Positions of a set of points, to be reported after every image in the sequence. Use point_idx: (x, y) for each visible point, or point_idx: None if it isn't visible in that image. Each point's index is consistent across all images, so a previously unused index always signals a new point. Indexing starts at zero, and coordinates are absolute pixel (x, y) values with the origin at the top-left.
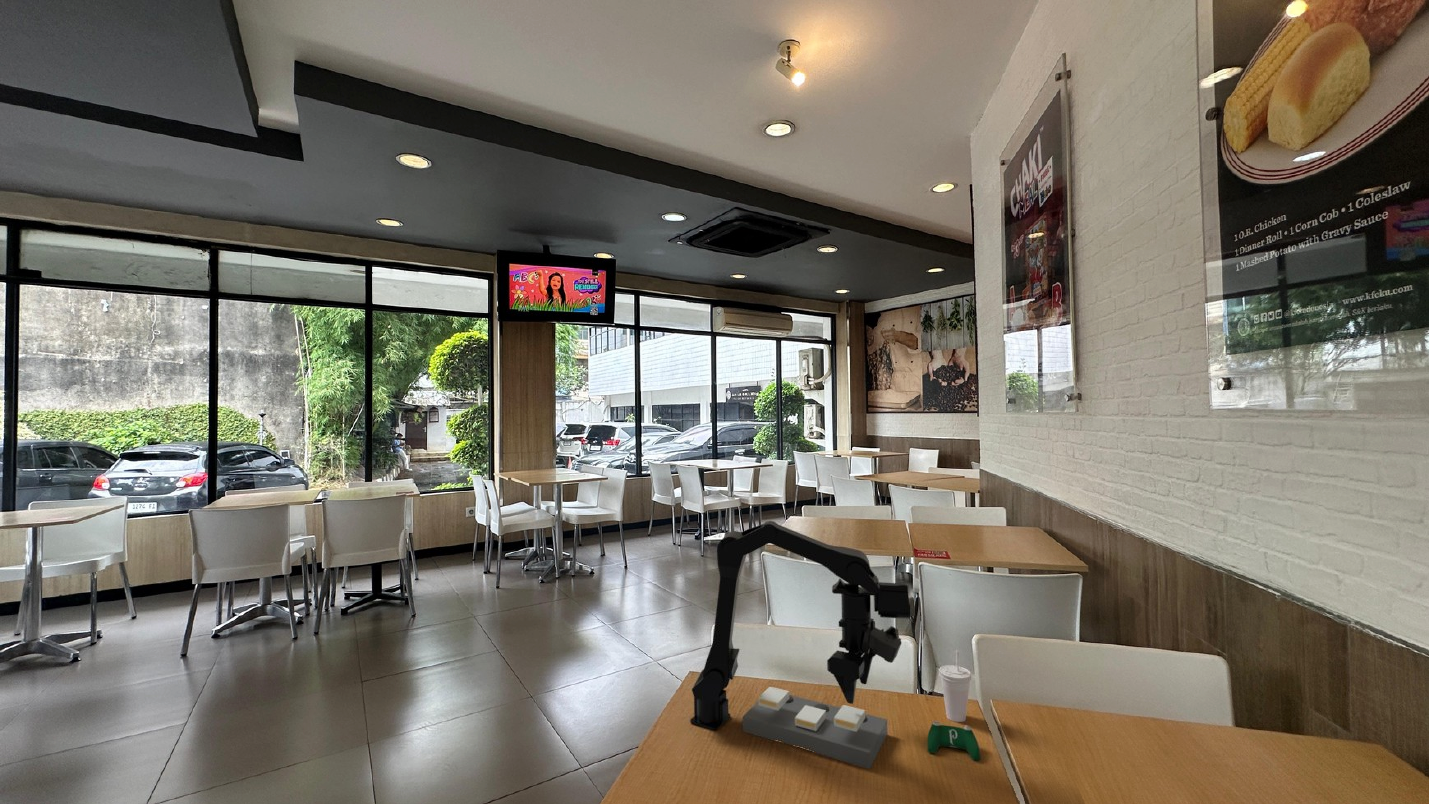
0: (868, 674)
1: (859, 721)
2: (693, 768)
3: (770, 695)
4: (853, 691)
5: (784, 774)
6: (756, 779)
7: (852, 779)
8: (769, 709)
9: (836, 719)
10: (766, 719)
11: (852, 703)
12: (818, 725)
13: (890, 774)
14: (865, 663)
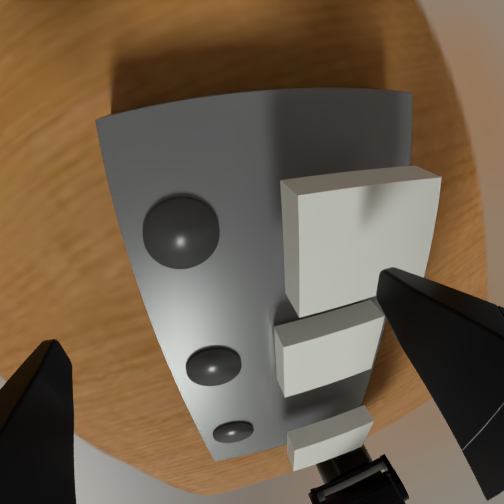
0: (11, 384)
1: (397, 176)
2: None
3: (340, 447)
4: (485, 302)
5: (449, 262)
6: (464, 287)
7: (429, 123)
8: (304, 420)
9: (425, 266)
10: (350, 398)
11: (395, 268)
12: (356, 311)
13: (364, 24)
14: (18, 485)
